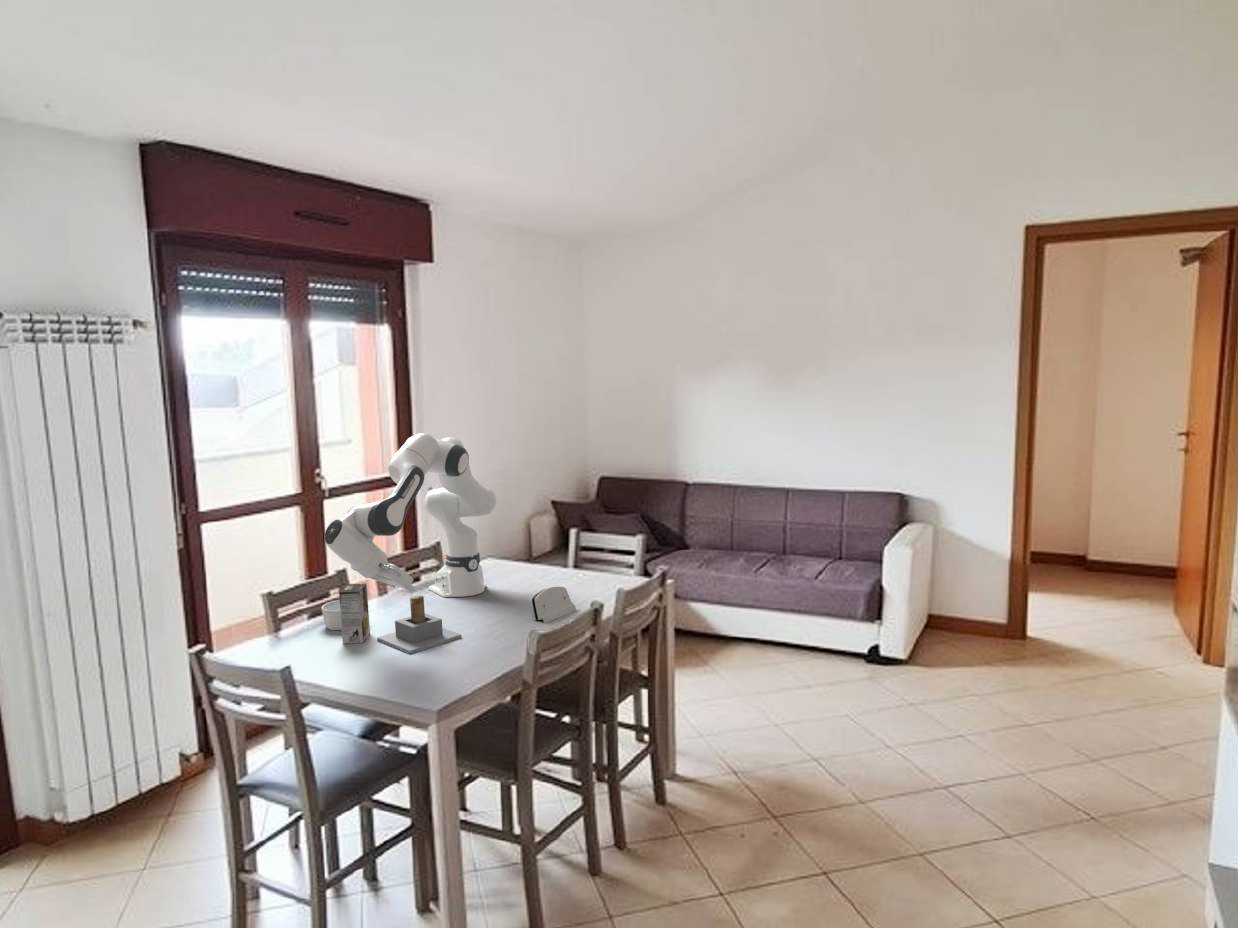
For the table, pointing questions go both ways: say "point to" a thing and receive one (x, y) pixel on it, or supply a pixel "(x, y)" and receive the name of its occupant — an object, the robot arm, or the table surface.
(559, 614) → the hinge
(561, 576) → the table surface
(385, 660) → the table surface
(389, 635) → the socket block
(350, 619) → the coffee box
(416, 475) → the robot arm
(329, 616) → the ramekin
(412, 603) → the pin
